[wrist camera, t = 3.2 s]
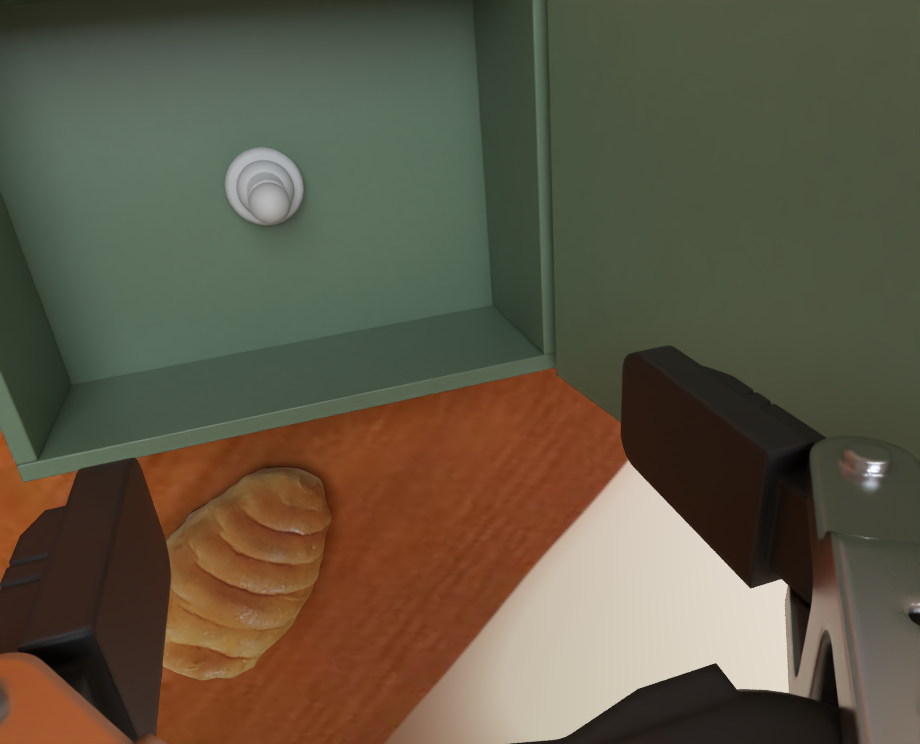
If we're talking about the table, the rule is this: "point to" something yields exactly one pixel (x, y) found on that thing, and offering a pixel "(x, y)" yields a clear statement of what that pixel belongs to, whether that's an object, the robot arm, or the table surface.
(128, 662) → the robot arm
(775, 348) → the box lid
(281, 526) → the pastry
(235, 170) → the pawn
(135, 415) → the chess box
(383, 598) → the table surface
